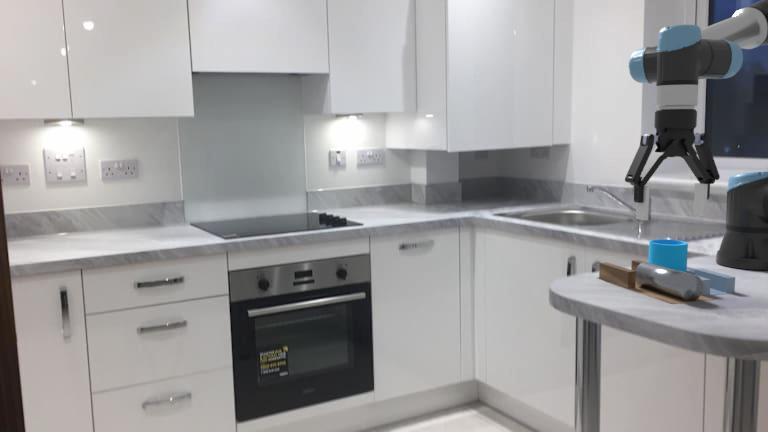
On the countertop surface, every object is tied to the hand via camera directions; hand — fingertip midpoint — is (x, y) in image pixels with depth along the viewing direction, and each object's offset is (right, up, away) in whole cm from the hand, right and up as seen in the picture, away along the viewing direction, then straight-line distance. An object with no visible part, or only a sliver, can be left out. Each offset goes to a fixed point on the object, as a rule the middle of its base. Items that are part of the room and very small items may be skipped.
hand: (671, 218), depth 137 cm
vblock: (+8, -16, +6) cm, 19 cm away
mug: (+10, -14, +25) cm, 30 cm away
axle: (0, -15, +2) cm, 15 cm away
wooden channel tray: (-2, -16, +8) cm, 18 cm away
